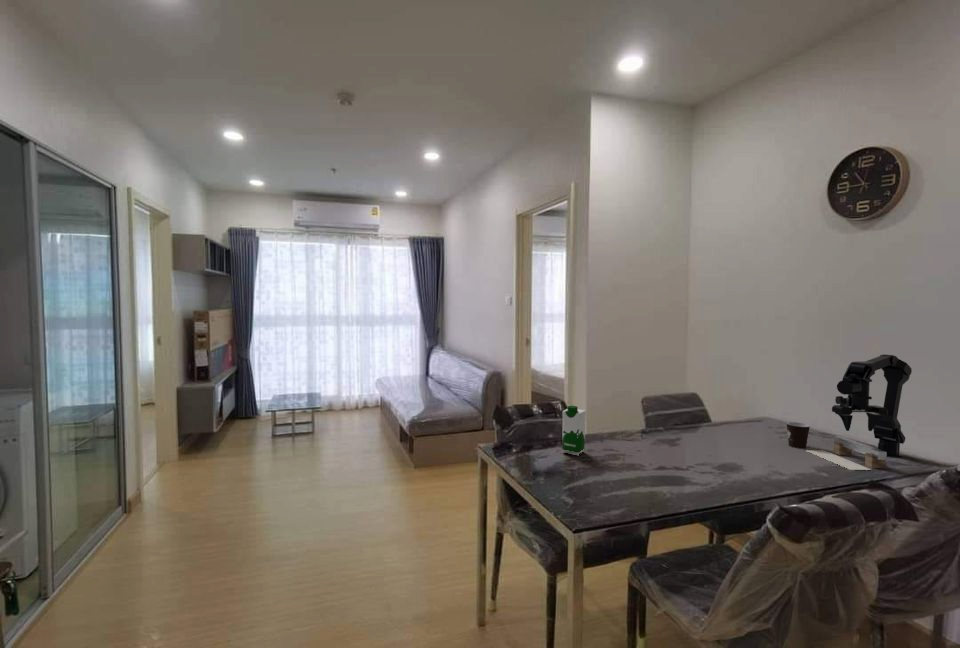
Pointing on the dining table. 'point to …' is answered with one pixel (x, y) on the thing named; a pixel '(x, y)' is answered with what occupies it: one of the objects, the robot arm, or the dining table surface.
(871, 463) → the post
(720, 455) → the dining table surface
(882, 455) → the rail
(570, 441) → the milk carton
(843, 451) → the post
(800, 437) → the coffee mug
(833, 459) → the mat
